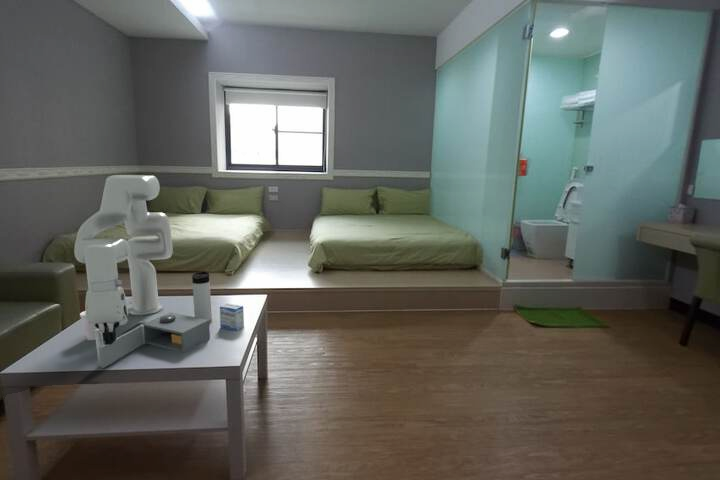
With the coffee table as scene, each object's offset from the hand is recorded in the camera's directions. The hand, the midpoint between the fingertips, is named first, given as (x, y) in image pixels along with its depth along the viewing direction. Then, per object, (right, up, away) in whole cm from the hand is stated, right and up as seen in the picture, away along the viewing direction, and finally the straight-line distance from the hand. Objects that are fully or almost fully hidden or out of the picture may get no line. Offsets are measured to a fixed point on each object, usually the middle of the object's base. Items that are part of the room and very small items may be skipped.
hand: (110, 342), depth 118 cm
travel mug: (+14, -2, +37) cm, 40 cm away
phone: (-8, -4, +27) cm, 29 cm away
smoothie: (-20, -4, +21) cm, 29 cm away
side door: (-2, -6, +9) cm, 11 cm away
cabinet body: (+11, -5, +20) cm, 23 cm away
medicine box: (+27, -3, +32) cm, 42 cm away
